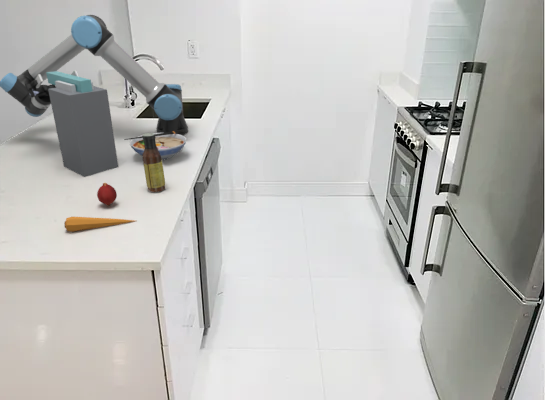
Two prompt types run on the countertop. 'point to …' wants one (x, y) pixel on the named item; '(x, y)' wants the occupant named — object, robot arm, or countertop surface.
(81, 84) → the teal rectangular bar
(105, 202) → the onion
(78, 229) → the carrot
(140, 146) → the ramen bowl
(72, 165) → the block
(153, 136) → the sauce bottle
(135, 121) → the countertop surface
